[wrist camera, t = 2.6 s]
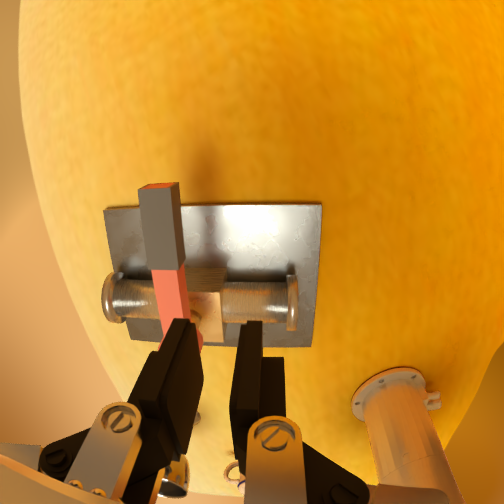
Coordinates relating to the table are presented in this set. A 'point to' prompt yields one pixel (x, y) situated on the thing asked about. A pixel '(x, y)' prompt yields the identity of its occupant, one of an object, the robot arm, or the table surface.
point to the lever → (165, 251)
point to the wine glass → (177, 475)
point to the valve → (223, 271)
